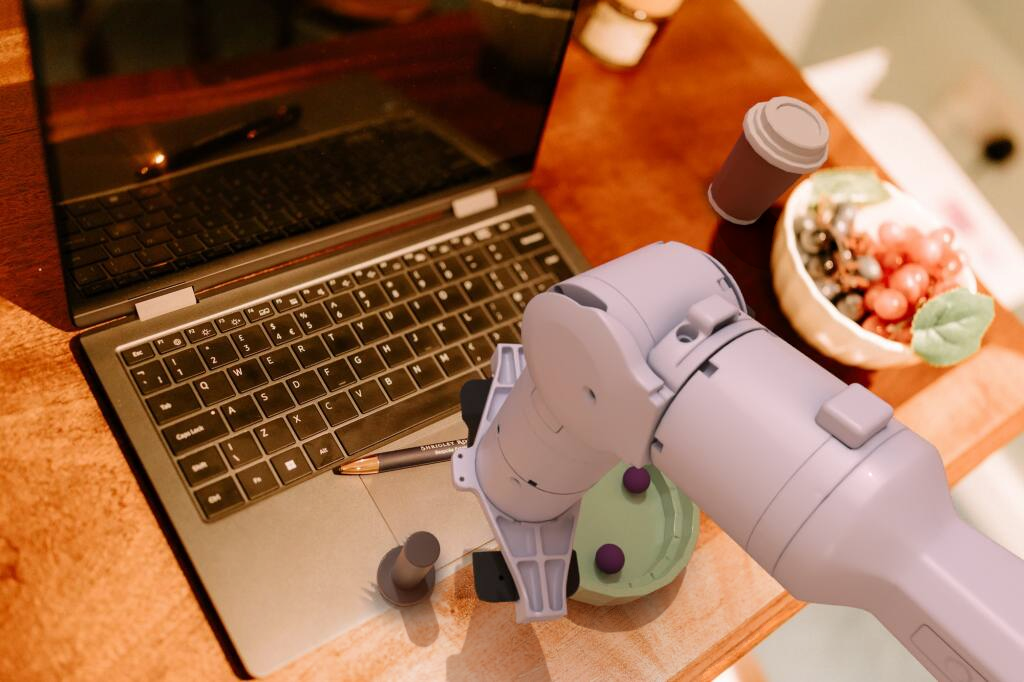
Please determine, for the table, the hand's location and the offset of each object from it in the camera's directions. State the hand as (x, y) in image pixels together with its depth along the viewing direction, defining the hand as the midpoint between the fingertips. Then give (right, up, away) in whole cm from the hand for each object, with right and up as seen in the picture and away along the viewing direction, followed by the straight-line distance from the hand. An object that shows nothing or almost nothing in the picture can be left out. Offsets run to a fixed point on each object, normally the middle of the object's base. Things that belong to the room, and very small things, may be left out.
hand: (488, 516), depth 44 cm
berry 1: (+9, -5, +8) cm, 13 cm away
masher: (-6, -6, +6) cm, 10 cm away
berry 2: (+11, 0, +12) cm, 17 cm away
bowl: (+8, -3, +12) cm, 14 cm away
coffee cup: (+26, +26, +34) cm, 51 cm away
